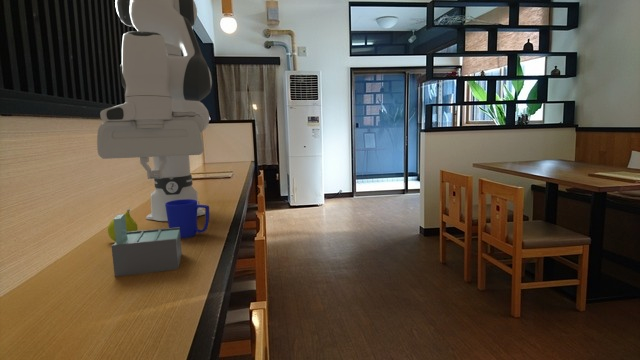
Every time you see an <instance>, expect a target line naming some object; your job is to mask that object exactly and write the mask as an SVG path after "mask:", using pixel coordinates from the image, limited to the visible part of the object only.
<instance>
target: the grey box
mask: <svg viewBox="0 0 640 360" xmlns="http://www.w3.org/2000/svg"><path fill="white" fill-rule="evenodd" d="M158 230H161V231H169V230H180V227H175V228H169V227H166V228H165V227H164V228H155V229H143V230H137V231H130V232H127V234H136V233H141V232H143V231H144V233H147V232H158ZM111 253H112V263H113V265H112V266H113V271H114V272H113V273H114V278H116V277H123V276H124V277H125V276H133V275H143V274H150V273H151V274H152V273H159V272H169V271H176V270H179V269H180V263H181V260H182V257H183V254H182V253H183V252H182V240H181V237H180V234H179V237H178V240H177V243H176V238H174V239H164V240H153V241H143V242H133V243H122V244H115V243H114V244H111Z"/></svg>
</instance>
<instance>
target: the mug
mask: <svg viewBox="0 0 640 360" xmlns="http://www.w3.org/2000/svg"><path fill="white" fill-rule="evenodd" d="M165 207H166V213H167V218H168V221H167V223H168V228H175V227H180V237H181V239H188V238H192V237H194V236H196V235H197V233H200V234H202V233H204V232H206V231H207V229H208V227H209V222H210V206H209V205H208V204H206V205H205V204H199V205H197V201H196V200H193V199H182V200H174V201H169V202H167V203H165ZM198 208H202V209H205V210H204V211H205V222H204V227H203V229H199V228H198V216H197V209H198Z"/></svg>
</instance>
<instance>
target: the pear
mask: <svg viewBox="0 0 640 360" xmlns="http://www.w3.org/2000/svg"><path fill="white" fill-rule="evenodd" d="M130 211H131V208H130V207H128V209H126V212H125V213H124V214H125V220H126V230H127V232H130V231H139V230H138V229H139V227H138V224H137V222H136V221H135V219H133V217H132V216H131V215H130ZM107 235H108V236H109V238H110V239H111V240H112V241H113V242H114V243H115V242H116V237H115V228H114V218H113V219H112V220H111V221H110V222H109V224H108V226H107Z"/></svg>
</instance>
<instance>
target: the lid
mask: <svg viewBox="0 0 640 360" xmlns="http://www.w3.org/2000/svg"><path fill="white" fill-rule="evenodd" d="M113 219H114V228H115V237H116V242H115V241H114V244H122V243H133V242H143V241H153V240H164V239H174V238H176V243H177V240H178V237H179V234H180V230H169V231H161V230H158V232H147V233H144V231H143V232H141V233H136V234H127V230H126V220H125V213H123V214H117V215H116V216H115V217H114V218H113Z"/></svg>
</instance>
